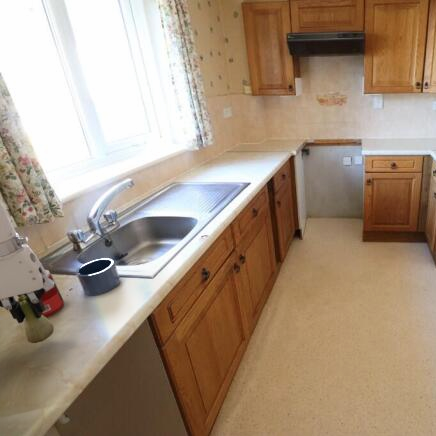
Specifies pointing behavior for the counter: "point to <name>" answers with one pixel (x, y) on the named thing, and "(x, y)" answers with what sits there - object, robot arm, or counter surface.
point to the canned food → (51, 299)
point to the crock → (98, 276)
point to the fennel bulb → (34, 322)
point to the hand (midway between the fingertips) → (31, 316)
